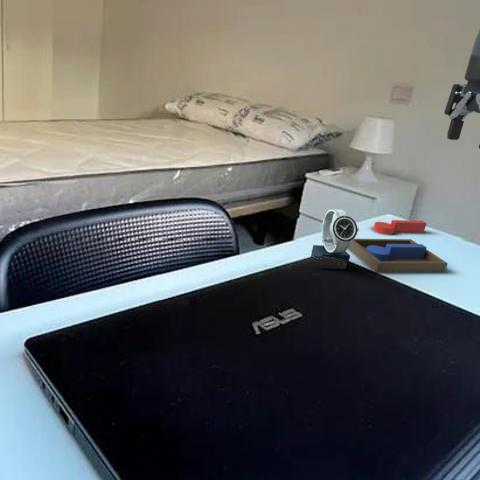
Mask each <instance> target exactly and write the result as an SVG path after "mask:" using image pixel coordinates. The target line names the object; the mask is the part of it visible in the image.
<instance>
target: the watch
mask: <svg viewBox="0 0 480 480" xmlns="http://www.w3.org/2000/svg"><path fill="white" fill-rule="evenodd" d="M359 231H360V229H359V227H358V224H357V222H356V220H355V219H354V218H353V217H352V215H351V213H348V211H346V210H345V209H336V208H335V209H333V208H331V209H328V210H327V211H326V213H325V215H324V217H323V221H322V223H321V234H320V237H321V242H322V243H323V245H322V244H321V245H320V244H319V245H318V244H313V245H312V248H311V254H310V258H311V257H313V256H322V257H323V256H329V257H337V258H341V259H344V260H346V261H349V262H350V259H351V254H349V253H348V252H347V250H348V247H349V245H351V244H352V242H353V239H356V238H357V235H358V232H359Z"/></svg>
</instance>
